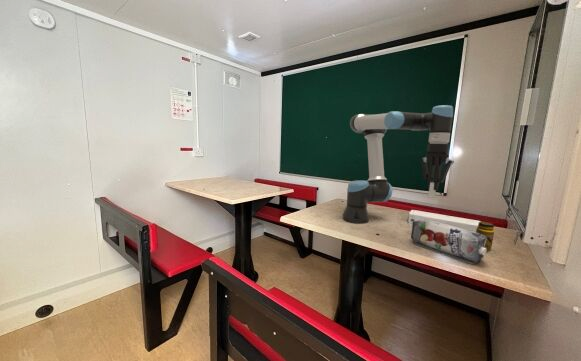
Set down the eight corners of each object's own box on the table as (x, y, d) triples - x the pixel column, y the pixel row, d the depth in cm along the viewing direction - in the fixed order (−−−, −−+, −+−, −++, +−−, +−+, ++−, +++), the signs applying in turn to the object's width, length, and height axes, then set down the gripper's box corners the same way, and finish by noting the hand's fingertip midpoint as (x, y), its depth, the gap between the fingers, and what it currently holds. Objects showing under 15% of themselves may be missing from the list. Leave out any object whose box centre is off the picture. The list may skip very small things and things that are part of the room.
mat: (414, 244, 106) (414, 242, 106) (427, 238, 113) (427, 237, 113) (472, 265, 89) (472, 263, 89) (482, 257, 96) (483, 255, 96)
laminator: (479, 231, 127) (480, 220, 126) (481, 238, 117) (483, 226, 116) (410, 219, 146) (411, 209, 145) (407, 224, 136) (408, 213, 135)
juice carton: (420, 216, 112) (492, 235, 90) (418, 237, 113) (488, 260, 92) (411, 219, 107) (485, 239, 85) (409, 241, 108) (481, 266, 87)
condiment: (494, 253, 100) (499, 226, 98) (471, 249, 103) (475, 223, 101) (487, 246, 106) (492, 221, 105) (465, 243, 109) (469, 219, 108)
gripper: (418, 142, 103) (412, 194, 106) (452, 143, 92) (444, 201, 96) (426, 143, 107) (420, 193, 110) (459, 143, 96) (451, 199, 100)
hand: (431, 196), depth 103 cm, fingers closed
